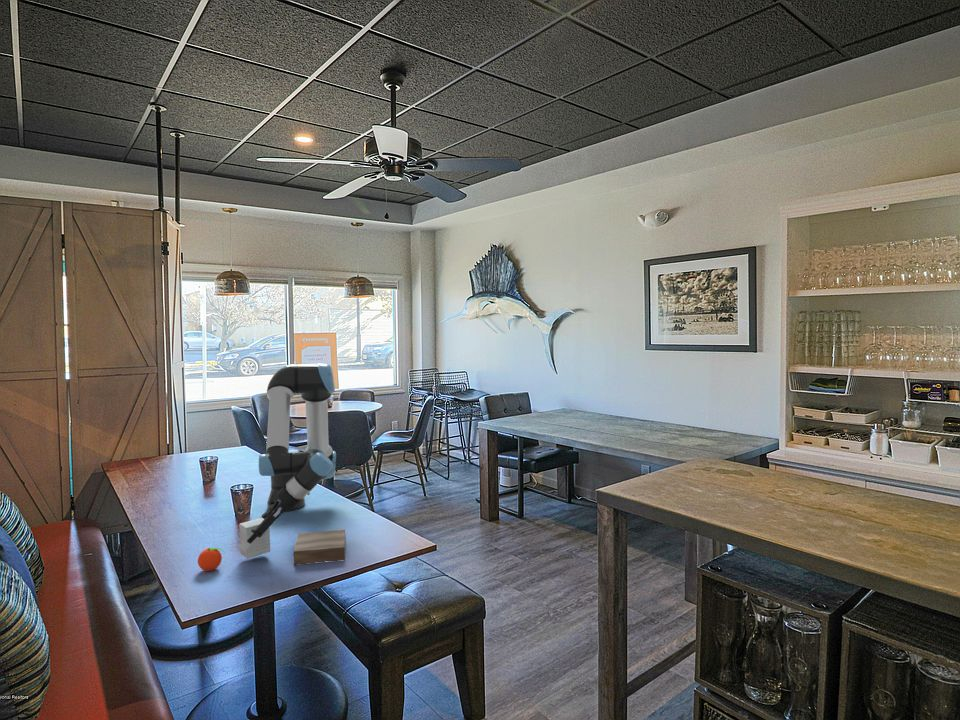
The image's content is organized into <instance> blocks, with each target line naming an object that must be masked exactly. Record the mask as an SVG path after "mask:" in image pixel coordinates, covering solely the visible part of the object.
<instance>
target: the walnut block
mask: <svg viewBox="0 0 960 720" xmlns="http://www.w3.org/2000/svg"><path fill="white" fill-rule="evenodd" d="M345 542H346V529H336V530H335V529H334V530H323V531H311V532H310V531H309V532H308V531H307V532H298V533H297V537H296V541H295V544H294V547H293V548H294V549H293V566H298V565H297V564H303V565H308V564H307V563H313V564H316V563H315V562H324V563H326V562H325V561H335V562H339V561H338V560H345V559H346V543H345ZM345 561H346V560H345Z"/></svg>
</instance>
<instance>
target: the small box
mask: <svg viewBox="0 0 960 720" xmlns="http://www.w3.org/2000/svg"><path fill="white" fill-rule="evenodd" d="M263 520H264V518H261V517H258V518H256V519H251V520H249V521H245V522H241V523H239V525H238V527H239V530H238V531H239V545H240V544H241V543H242V542H243V541H244V540H245V539H246V538H247V537H248V536H249V534H250V533H251V532H252V531H251V530H252V529H253V530H255V529H256V528H257V527H258V526H259V525H260V524H261V522H262V521H263ZM270 533H271V531H270V527H269V528H268V529H267V530H266V531H265V532H264V534H263V535H262V536H261V537H260V538H258V539H257V540H256V541H255V542H254V543H253V544H252V545H251V546H250V547H249V548H248V549H247V550H246V551H245V552H244V551H243V550H242V549H241V548H239V550H240V554H241V556H243V557H245V558H246V559H247V560H248V559H251V558H255V557H258V556H261V555H264V554H267V553H270V552H271V534H270Z"/></svg>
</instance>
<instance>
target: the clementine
mask: <svg viewBox="0 0 960 720" xmlns="http://www.w3.org/2000/svg"><path fill="white" fill-rule="evenodd" d="M220 551H223V552H224V554H226V552H225V551H224V550H223V549H222V548H219V547H209V548H204V550H202V551H201V552H200V554H199V555H198V558H197V565H198V567H199V569H201V570H203V571H204V572H211V571H215V570H216V569H217V568H219V566H220V565H221V564H222V558H223V557H222V554H221V552H220Z"/></svg>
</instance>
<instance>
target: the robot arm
mask: <svg viewBox="0 0 960 720" xmlns="http://www.w3.org/2000/svg"><path fill="white" fill-rule="evenodd" d="M334 380H335V379H334V374H333V369H332V366H331V365H330V364H328V363H306V364H304V363H303V364H298V363H297V364H293V363H292V364H288V365H285V366H283V367H281V368H279V370H277V371H276V372H275V373H274V374H273V376H272V377H271V379H270V380H269V383H268V385H267V389H266V397H267V399H268V413H267V414H268V416H267V432H266V433H267V434H266V444H265V445H266V446H265V447H266V450H265V453H263V454H260V455H258V473H259V474H260V476H263V477H270V487H271V489H270V492H269V496H268V498H267V510H265V512H264V513H262V515H261V517H260V518H264V520H263V521H262V522H261V524H260V525H259V526H258V527H257V528H256V529H255V530H253V529H252V530H251V531H252V532H251V533H250V534H249V536H248V537H247V538H246V539H245V540H244V541H243V542H242V543H241V544H240V543H239V544H238V548H239V549H240V548H241V549H242V550H243V551H244V552H245V551H246V550H247V549H248V548H249V547H250V546H251V545H252V544H253V543H254V542H255V541H256V540H257V539H258V538H260V537H261V536H262V535H263V534H264V532H265V531H266V530H267V529H268V528H270V527H271V526H272V525H273V523H275V521H277V519H279V518H280V517H281V516H282V514H283V513H284V512H288V511H294V510H298V509H300V508H302V507H304V506H305V504H306V502H305V501H306V500H305V498H306V496H309V495H310V494H311V491H312V490H313V489H314V488H315V487H316V486H317V485H318V484H319V483H320V482H321V481H322V480H326V479H332V478H333V477H334V476H335V471H336V461H337V453H336V451H335V450H333V447H332V446H331V445H330V444H329V443H330V442H329V414H328V413H329V411H328V409H329V408H328V407H329V406H328V405H329V404H328V400H329V399H330V398H331V397H332V394H333V393H335V391H336V390H335V381H334ZM294 395H301V396H300V397H301V399H302V400H303V401H305V417H306V418H305V419H306V421H305V422H306V441H307V446H306V447H305V448H304V451H300V450H299V449H296V448H295V449H294V448H293V449H290V444H289V443H290V423H291V421H290V420H291V400H292V399H293V398H294Z"/></svg>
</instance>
